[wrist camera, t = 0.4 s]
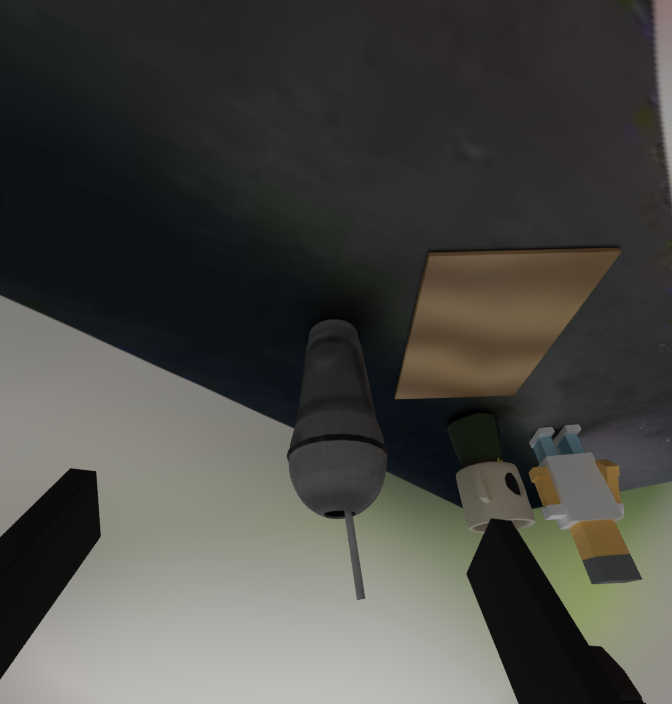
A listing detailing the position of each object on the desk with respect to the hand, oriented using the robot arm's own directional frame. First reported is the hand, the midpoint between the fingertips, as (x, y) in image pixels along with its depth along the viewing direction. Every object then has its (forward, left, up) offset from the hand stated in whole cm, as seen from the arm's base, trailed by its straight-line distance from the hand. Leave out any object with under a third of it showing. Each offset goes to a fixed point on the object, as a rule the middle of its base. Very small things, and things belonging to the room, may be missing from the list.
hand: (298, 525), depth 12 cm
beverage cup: (+12, +1, -19) cm, 22 cm away
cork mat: (+13, +15, -18) cm, 27 cm away
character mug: (+30, +19, -19) cm, 40 cm away
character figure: (+35, +33, -19) cm, 52 cm away
